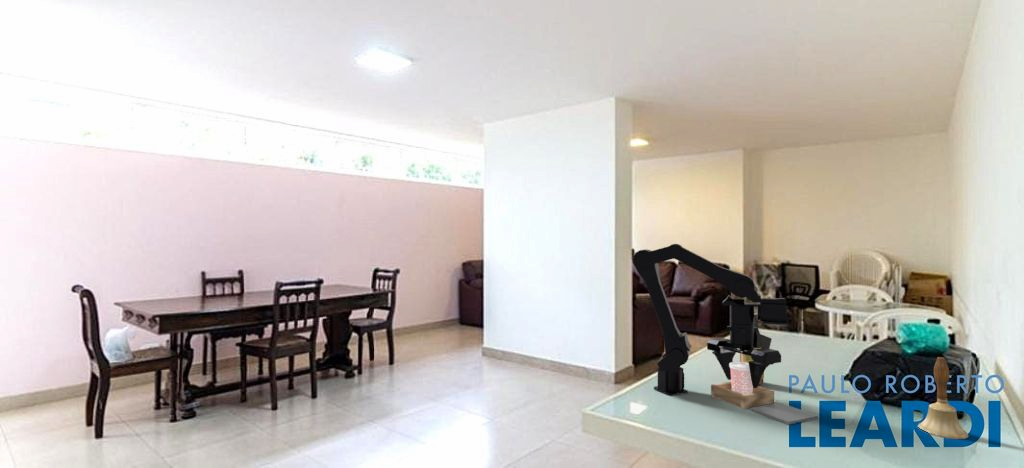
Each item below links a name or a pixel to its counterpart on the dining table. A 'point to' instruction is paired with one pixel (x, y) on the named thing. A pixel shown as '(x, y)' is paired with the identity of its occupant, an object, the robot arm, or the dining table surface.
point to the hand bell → (942, 408)
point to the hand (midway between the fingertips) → (742, 383)
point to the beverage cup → (741, 377)
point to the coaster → (784, 413)
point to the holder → (742, 395)
